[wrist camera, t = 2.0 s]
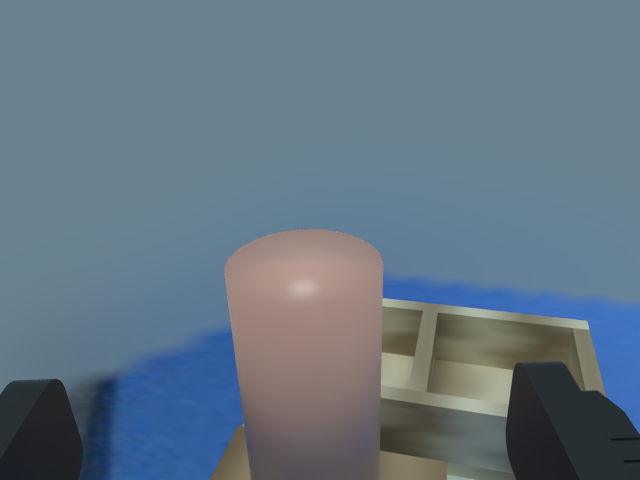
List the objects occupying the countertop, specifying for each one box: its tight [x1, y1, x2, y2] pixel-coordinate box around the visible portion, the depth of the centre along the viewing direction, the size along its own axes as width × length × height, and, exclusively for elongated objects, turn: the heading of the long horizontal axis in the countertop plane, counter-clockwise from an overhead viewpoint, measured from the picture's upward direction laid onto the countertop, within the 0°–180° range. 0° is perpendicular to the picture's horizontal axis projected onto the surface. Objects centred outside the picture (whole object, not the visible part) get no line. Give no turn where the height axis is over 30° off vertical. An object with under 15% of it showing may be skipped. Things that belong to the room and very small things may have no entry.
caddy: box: [380, 298, 606, 480], centre depth 37 cm, size 20×10×5 cm, turn 75°
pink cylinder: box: [224, 229, 383, 480], centre depth 25 cm, size 6×6×14 cm
